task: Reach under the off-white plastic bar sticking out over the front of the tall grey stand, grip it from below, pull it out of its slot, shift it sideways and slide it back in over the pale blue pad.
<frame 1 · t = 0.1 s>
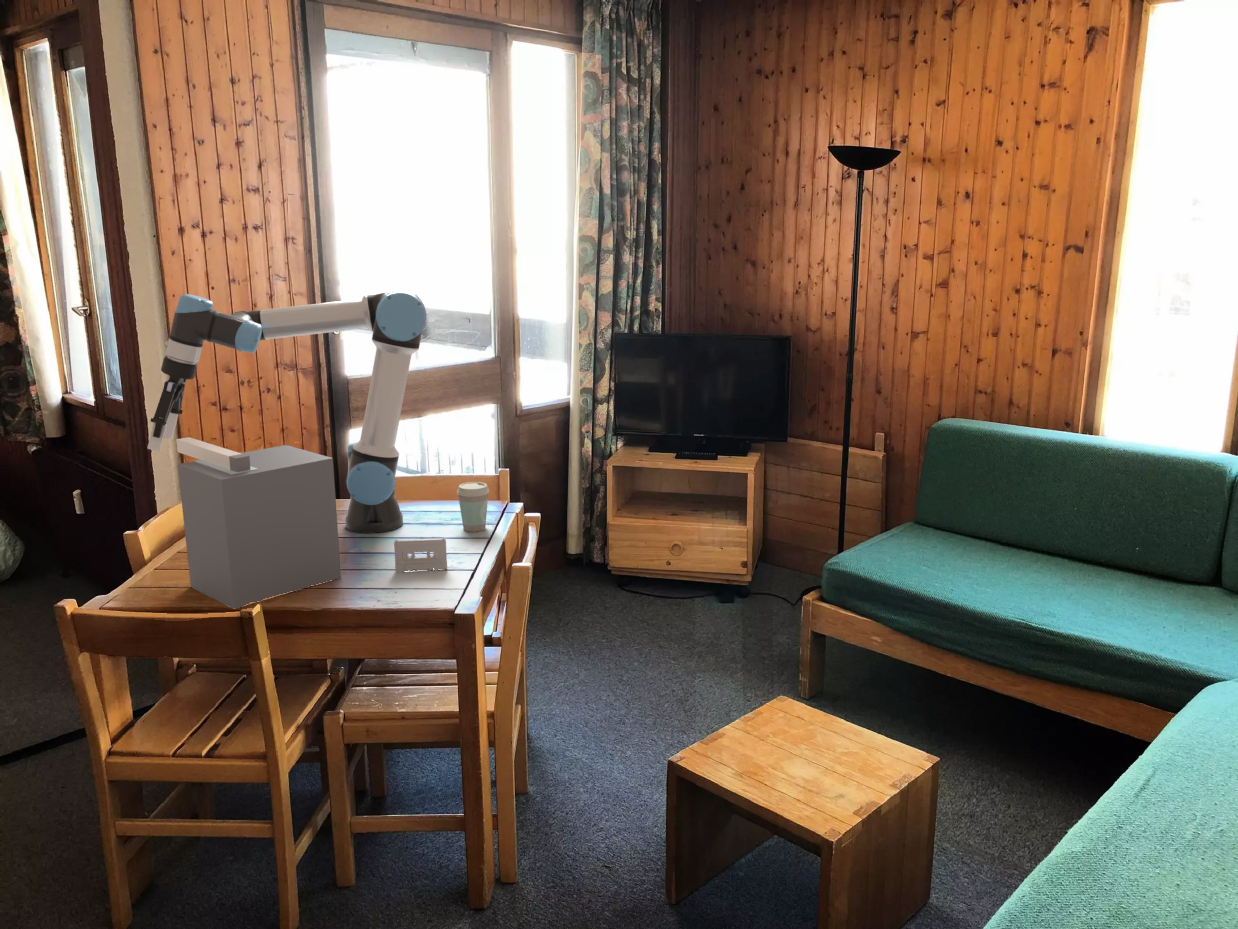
hand: (160, 443, 241), 28 cm above the table, tool tilted 20°, fingers open, 13 cm apart
coffee cup: (474, 529, 268), on the table
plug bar: (212, 460, 221), point 29 cm above the table, touching slot stand
slot stand: (266, 582, 228), on the table
cassette: (421, 571, 236), on the table
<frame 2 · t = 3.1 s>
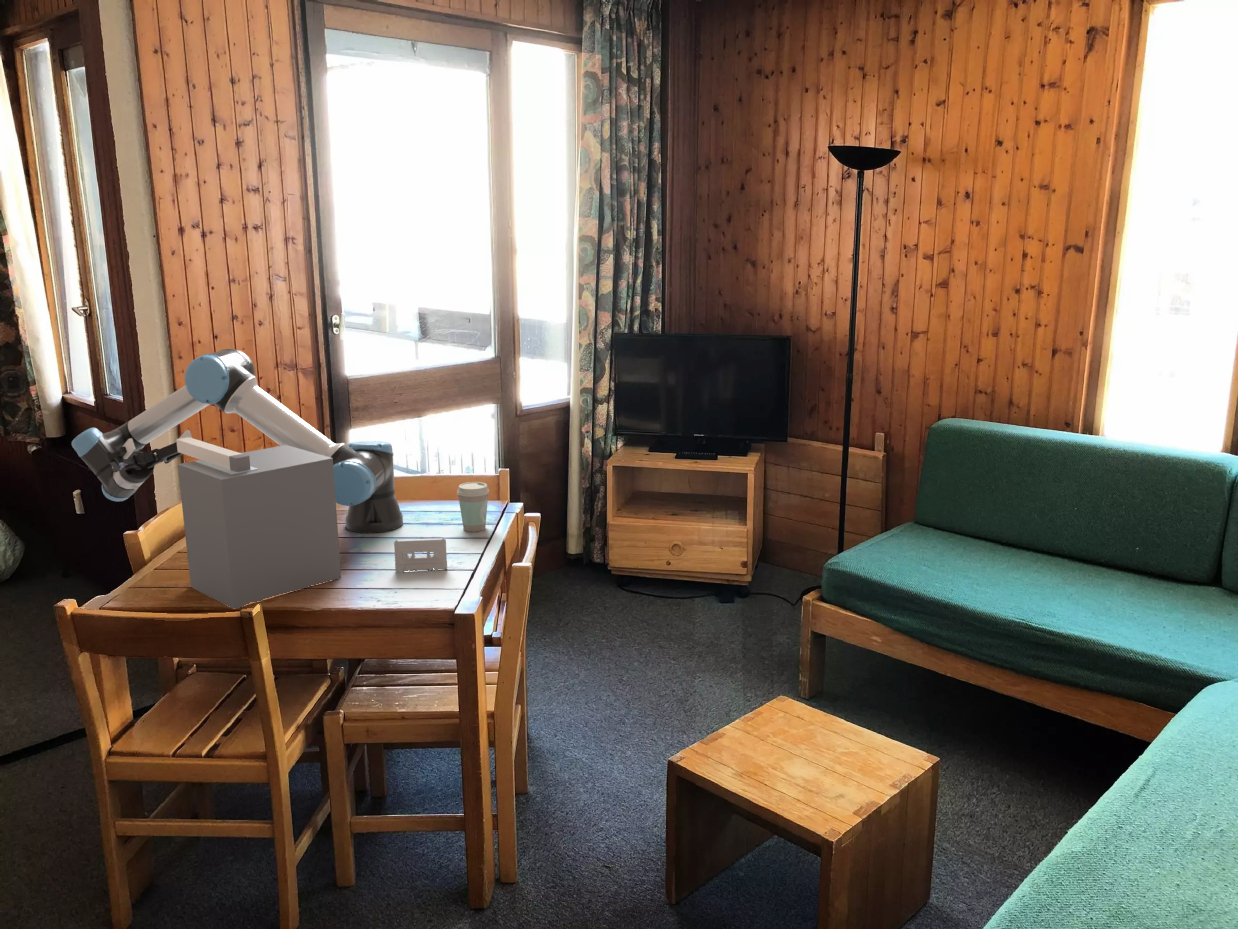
hand: (161, 439, 237), 30 cm above the table, tool pointing upward, fingers open, 13 cm apart
nothing on the table moved.
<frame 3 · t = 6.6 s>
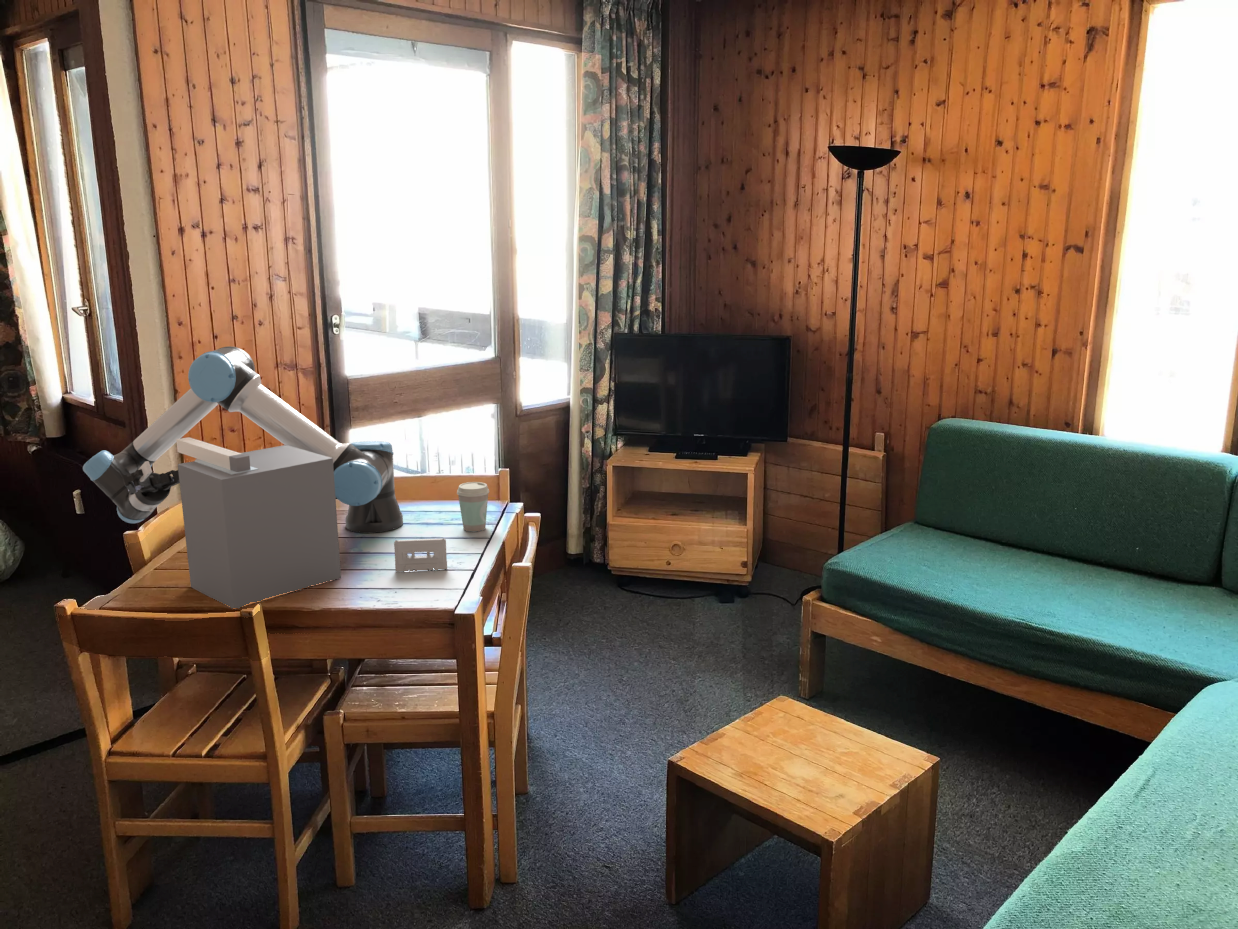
hand: (178, 461, 232), 26 cm above the table, tool pointing upward, fingers open, 13 cm apart
nothing on the table moved.
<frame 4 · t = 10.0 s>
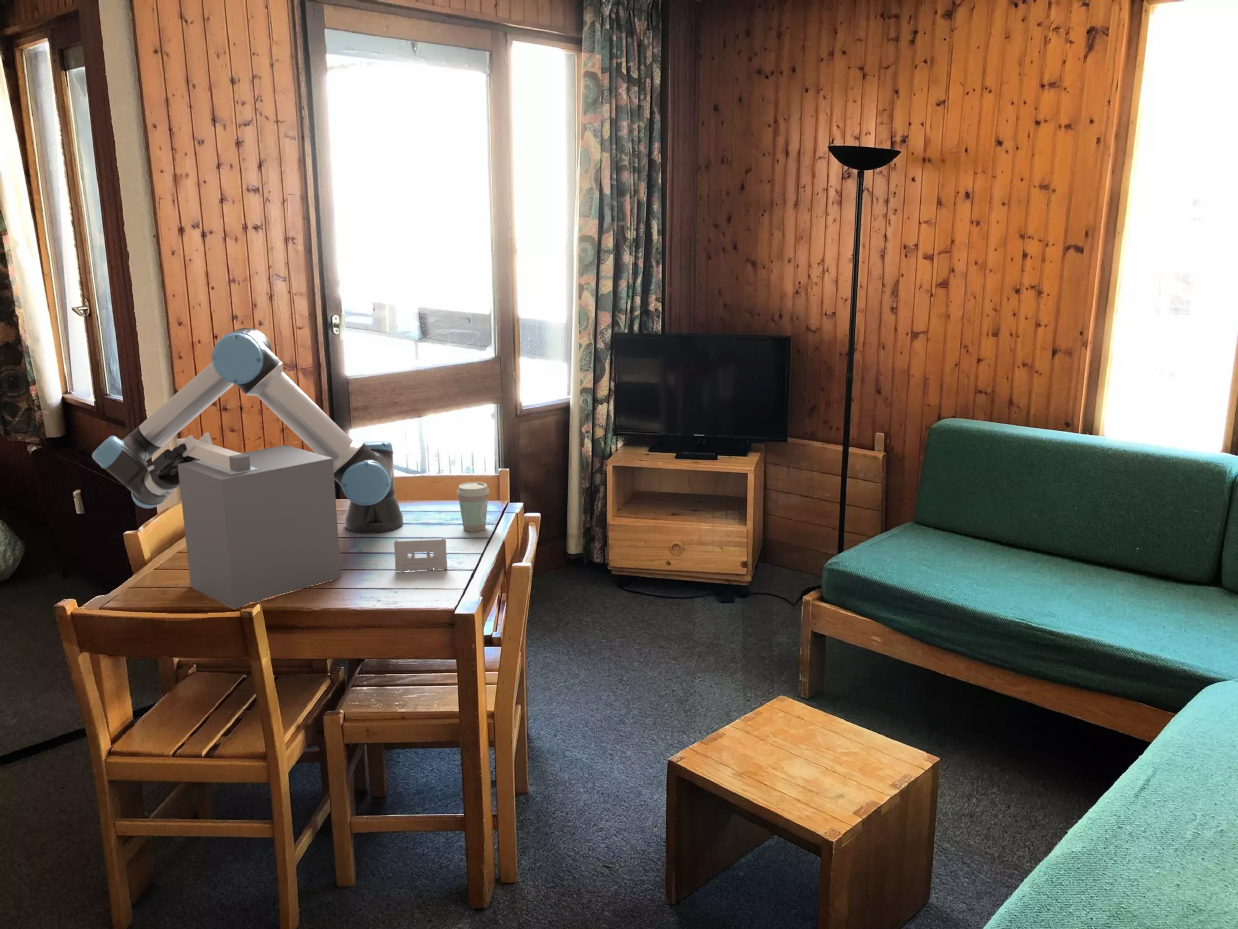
hand: (200, 439, 223), 33 cm above the table, tool pointing upward, fingers closed on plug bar, 3 cm apart
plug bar: (212, 460, 221), point 29 cm above the table, touching gripper, slot stand
everything else where it was.
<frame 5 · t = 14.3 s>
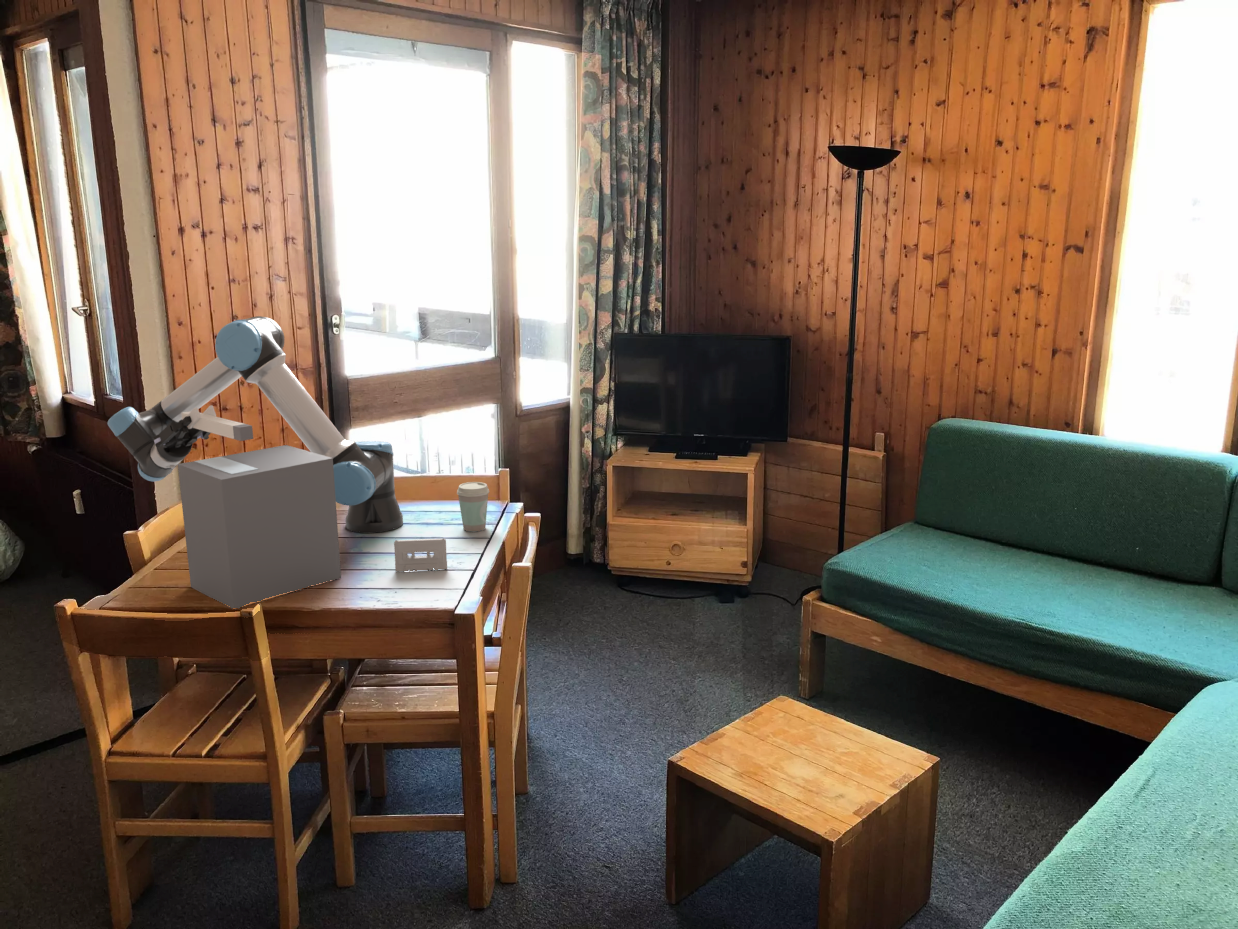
hand: (205, 411, 234), 37 cm above the table, tool pointing upward, fingers closed on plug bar, 3 cm apart
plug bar: (216, 431, 232), point 33 cm above the table, touching gripper
everything else where it was.
when the fingers open (34 cm above the table, at t = 18.6 s): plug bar drops 1 cm, resting on slot stand.
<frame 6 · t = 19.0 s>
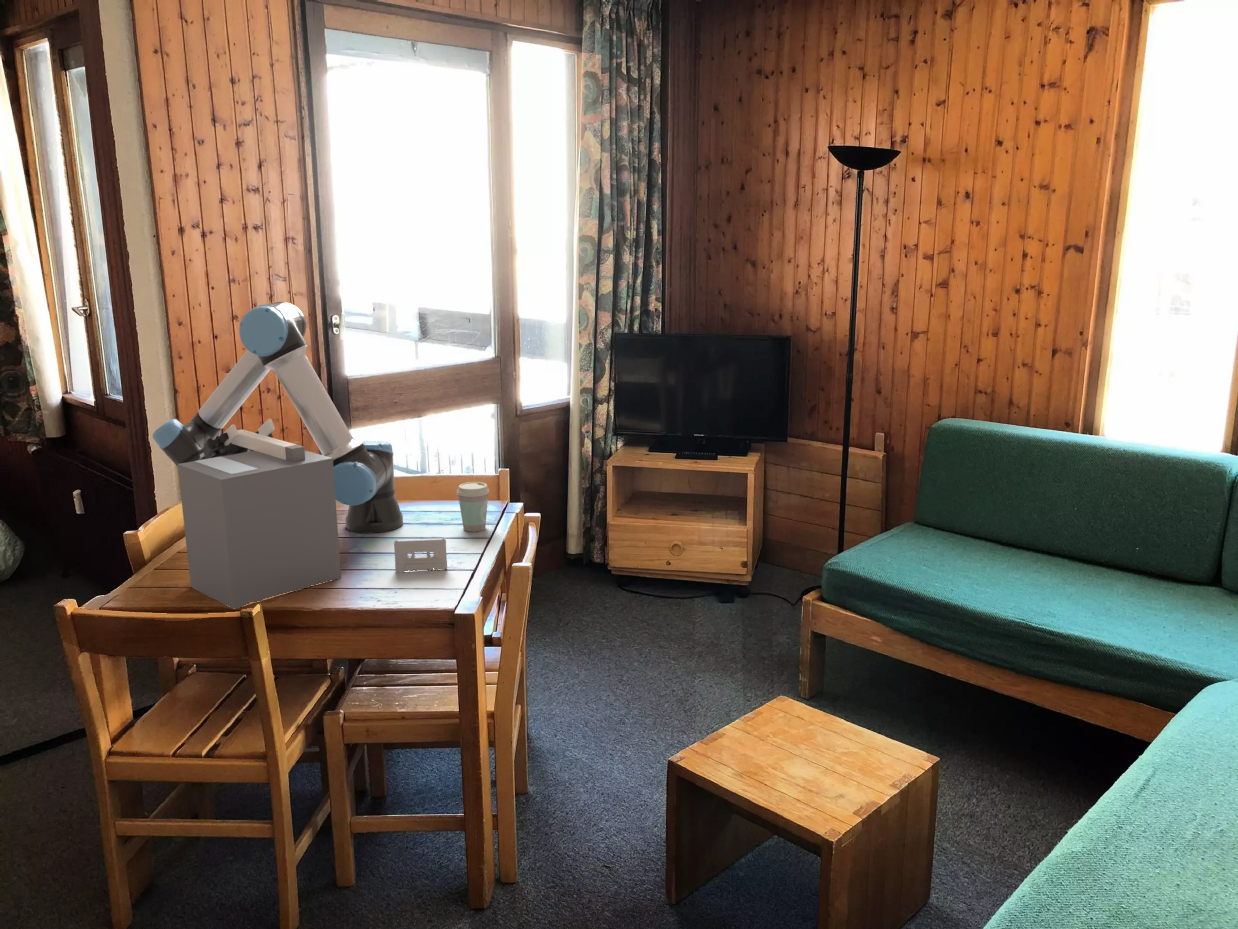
hand: (253, 426, 233), 34 cm above the table, tool pointing upward, fingers open, 8 cm apart
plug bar: (267, 451, 230), point 28 cm above the table, touching slot stand
everything else where it was.
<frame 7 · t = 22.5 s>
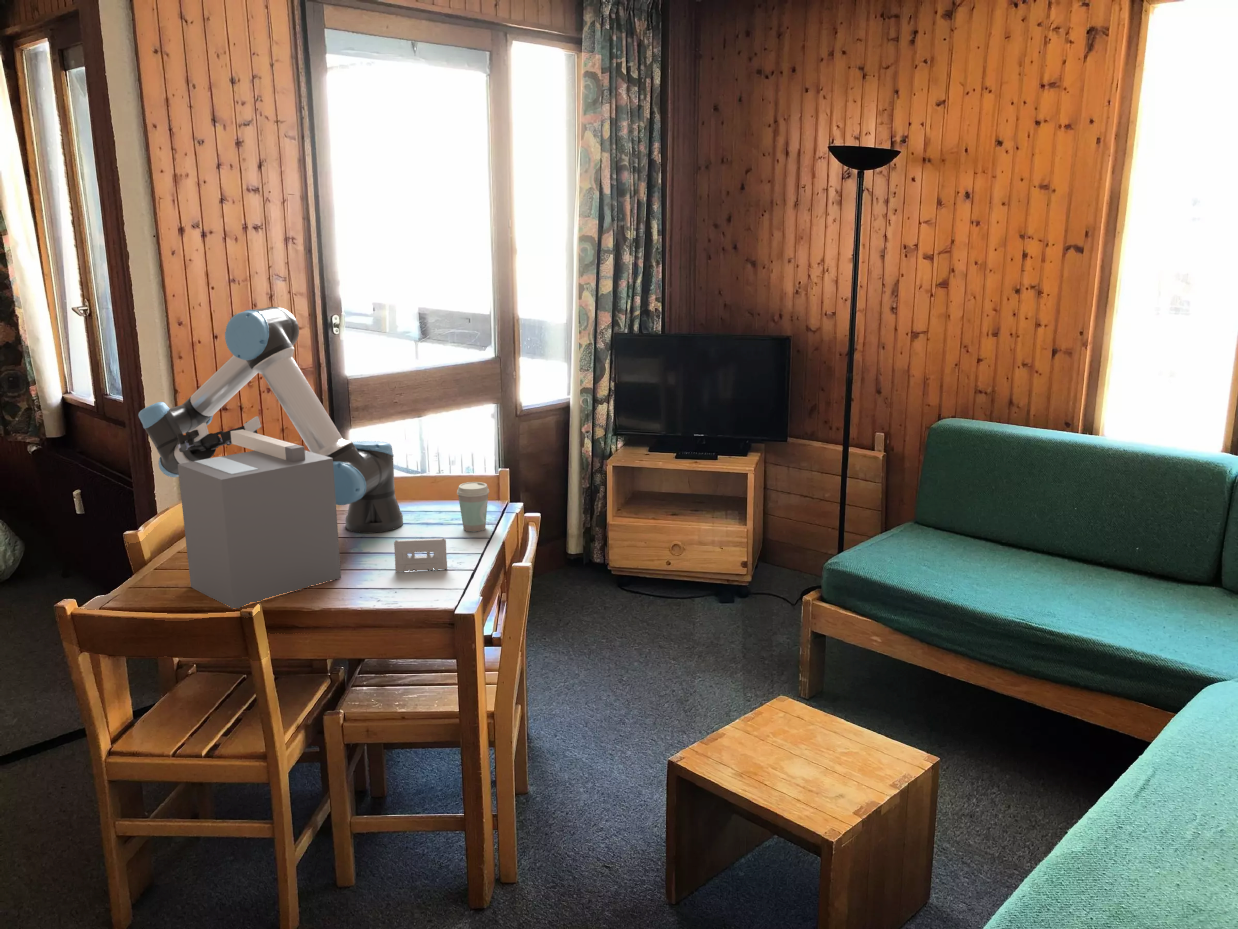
hand: (232, 424, 242), 32 cm above the table, tool pointing upward, fingers open, 13 cm apart
nothing on the table moved.
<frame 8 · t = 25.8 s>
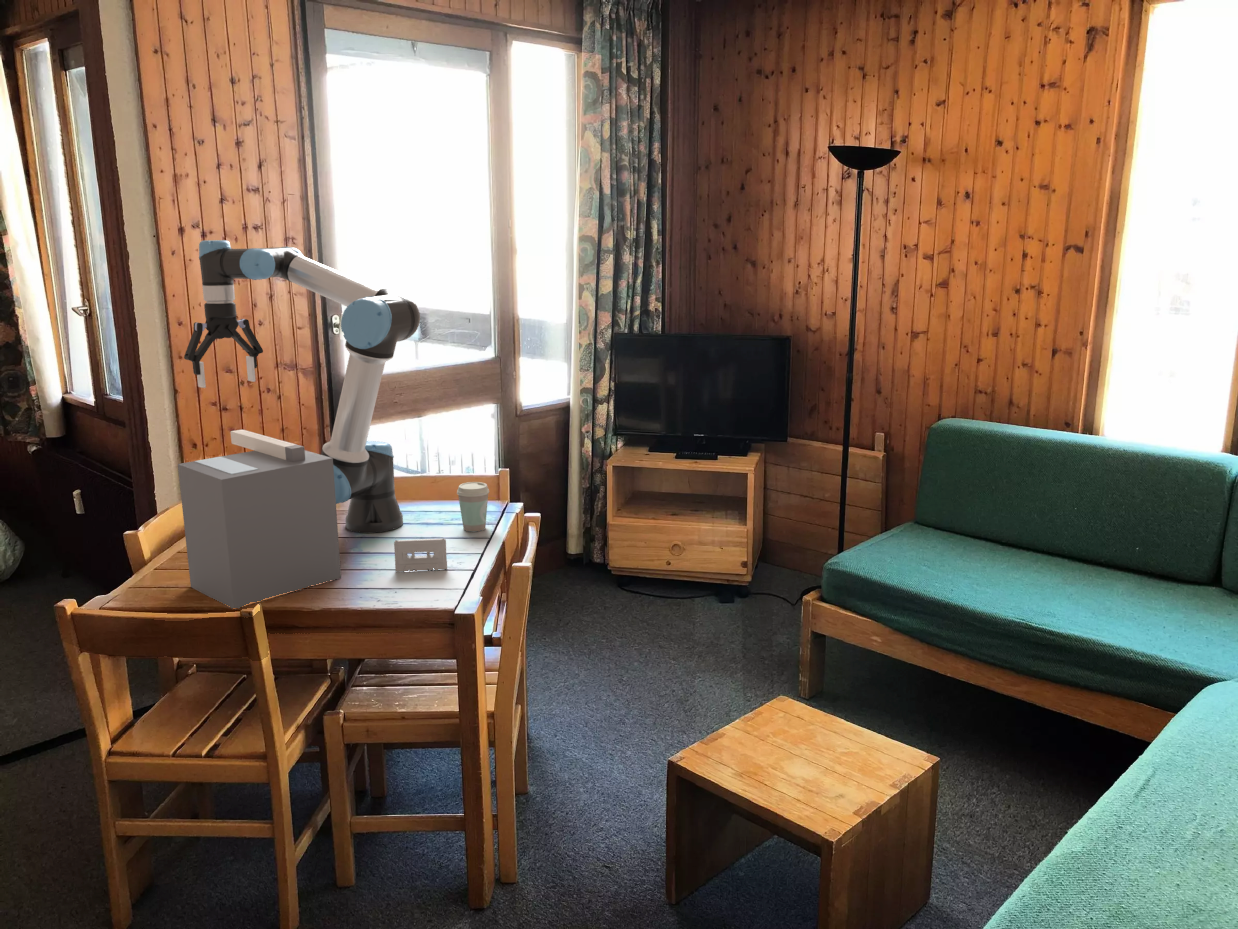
hand: (227, 384, 261), 39 cm above the table, tool pointing down, fingers open, 13 cm apart
nothing on the table moved.
at the end: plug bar 0.0 cm from the target spot on the slot stand, point 28.5 cm above the slot stand's base; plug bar tilted 0°; the gripper is holding nothing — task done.
